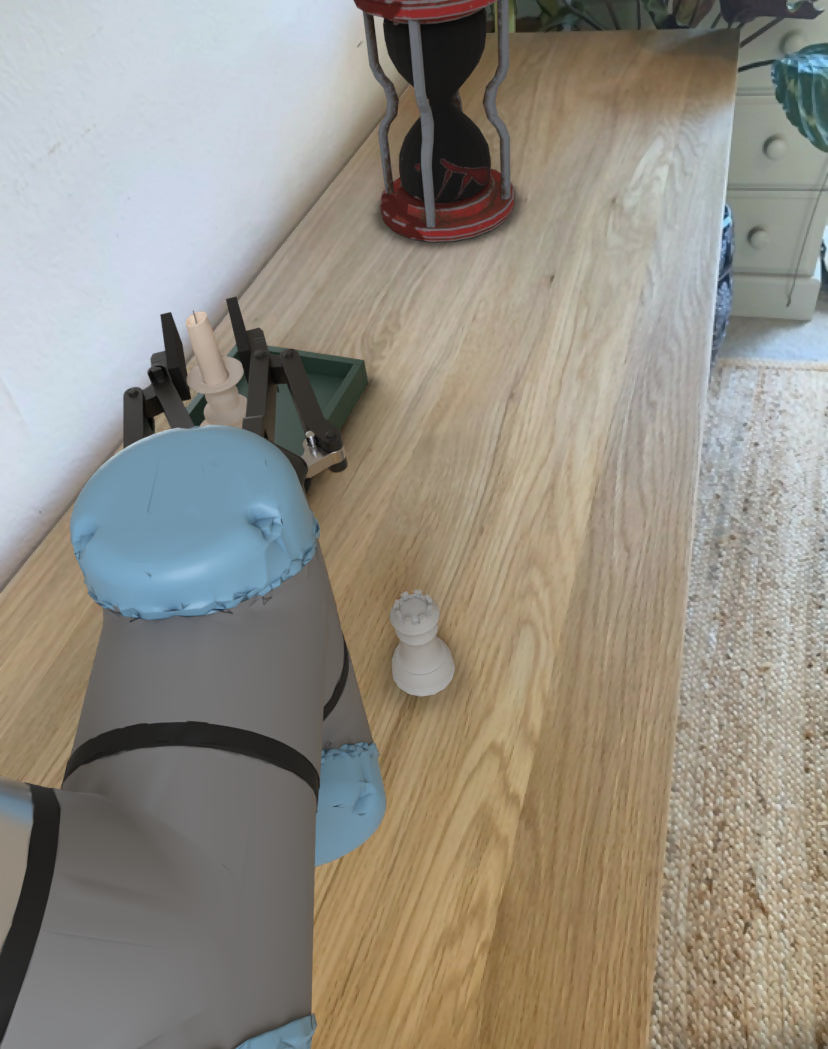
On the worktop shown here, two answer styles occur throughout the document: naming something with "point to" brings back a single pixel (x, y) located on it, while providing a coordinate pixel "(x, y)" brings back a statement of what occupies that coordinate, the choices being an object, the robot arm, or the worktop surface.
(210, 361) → the candle
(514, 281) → the worktop surface
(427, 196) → the hourglass
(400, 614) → the rook chess piece
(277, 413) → the tray
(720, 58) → the worktop surface
